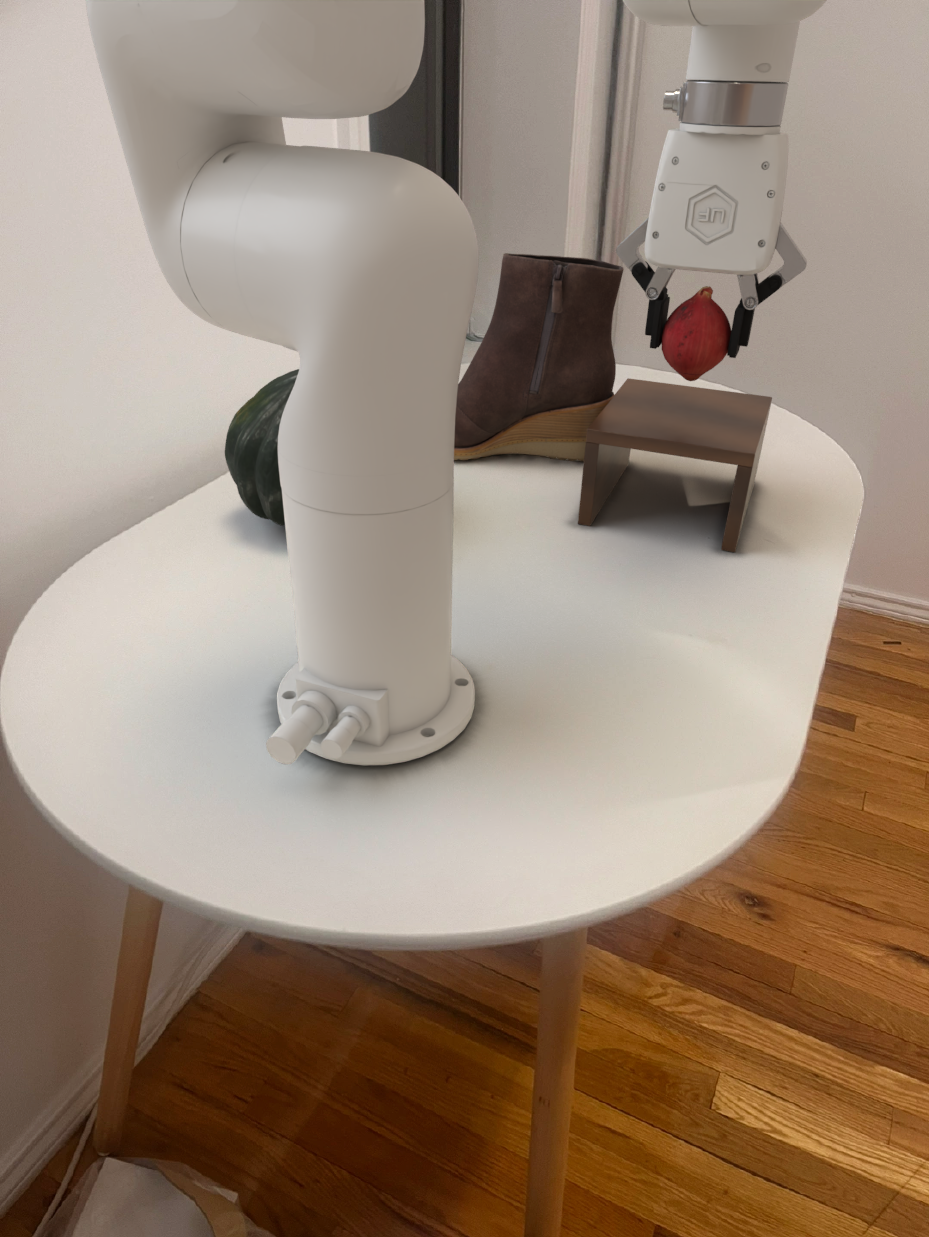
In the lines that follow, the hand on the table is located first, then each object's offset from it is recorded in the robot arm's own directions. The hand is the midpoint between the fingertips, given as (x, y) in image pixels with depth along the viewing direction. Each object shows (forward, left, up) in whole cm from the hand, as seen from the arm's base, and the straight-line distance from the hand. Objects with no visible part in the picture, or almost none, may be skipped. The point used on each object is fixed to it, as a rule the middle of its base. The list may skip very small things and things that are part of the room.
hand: (694, 347), depth 77 cm
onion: (0, 0, -3) cm, 3 cm away
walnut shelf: (0, 0, -15) cm, 15 cm away
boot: (+6, +20, -15) cm, 26 cm away
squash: (-16, +29, -15) cm, 36 cm away
